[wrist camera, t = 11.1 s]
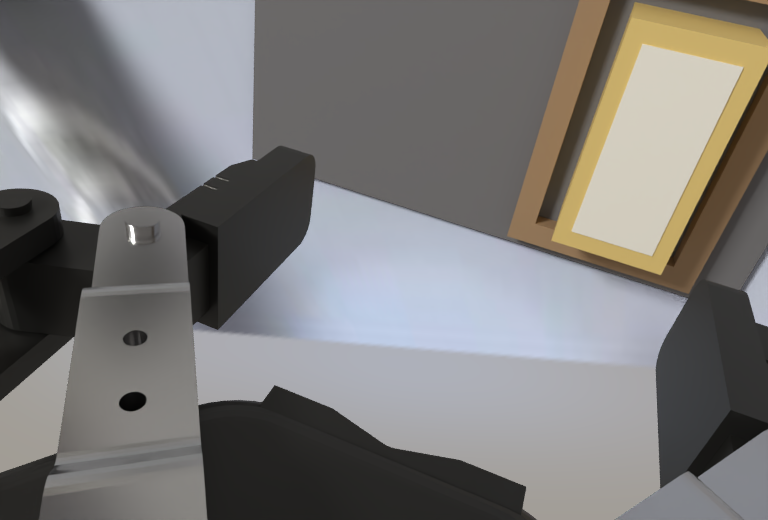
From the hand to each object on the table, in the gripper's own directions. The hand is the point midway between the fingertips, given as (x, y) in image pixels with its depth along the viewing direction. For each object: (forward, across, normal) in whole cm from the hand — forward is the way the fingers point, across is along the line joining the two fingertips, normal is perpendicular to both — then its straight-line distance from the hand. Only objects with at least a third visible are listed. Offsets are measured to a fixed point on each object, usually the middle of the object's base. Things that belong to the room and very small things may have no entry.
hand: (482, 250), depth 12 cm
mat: (+19, +2, +2) cm, 20 cm away
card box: (+19, -5, +2) cm, 19 cm away
